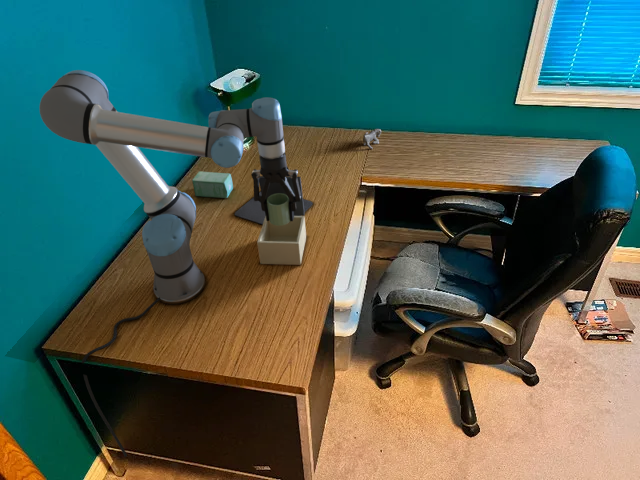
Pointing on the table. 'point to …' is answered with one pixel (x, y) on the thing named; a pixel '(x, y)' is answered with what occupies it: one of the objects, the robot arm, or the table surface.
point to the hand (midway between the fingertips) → (280, 218)
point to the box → (212, 184)
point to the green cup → (278, 209)
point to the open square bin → (282, 242)
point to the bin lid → (283, 192)
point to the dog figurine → (371, 137)
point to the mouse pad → (259, 210)
